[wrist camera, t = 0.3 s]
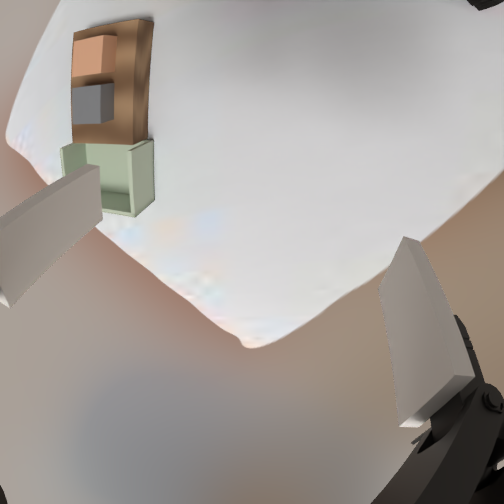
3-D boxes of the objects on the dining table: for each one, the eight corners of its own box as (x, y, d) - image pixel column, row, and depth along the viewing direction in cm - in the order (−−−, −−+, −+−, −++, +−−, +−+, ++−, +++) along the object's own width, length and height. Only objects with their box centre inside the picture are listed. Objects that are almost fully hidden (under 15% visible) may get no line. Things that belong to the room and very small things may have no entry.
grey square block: (86, 85, 31) (71, 88, 29) (114, 82, 31) (100, 84, 28) (86, 119, 34) (72, 124, 32) (114, 119, 34) (100, 123, 31)
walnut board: (91, 33, 30) (73, 32, 27) (154, 22, 29) (138, 19, 26) (89, 136, 40) (72, 143, 36) (147, 138, 39) (132, 145, 35)
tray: (84, 137, 40) (59, 148, 35) (153, 140, 39) (131, 151, 34) (89, 191, 45) (67, 206, 40) (154, 200, 44) (135, 217, 39)
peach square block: (88, 41, 28) (73, 41, 25) (117, 36, 27) (103, 35, 25) (86, 75, 30) (71, 77, 28) (114, 71, 30) (100, 73, 28)
